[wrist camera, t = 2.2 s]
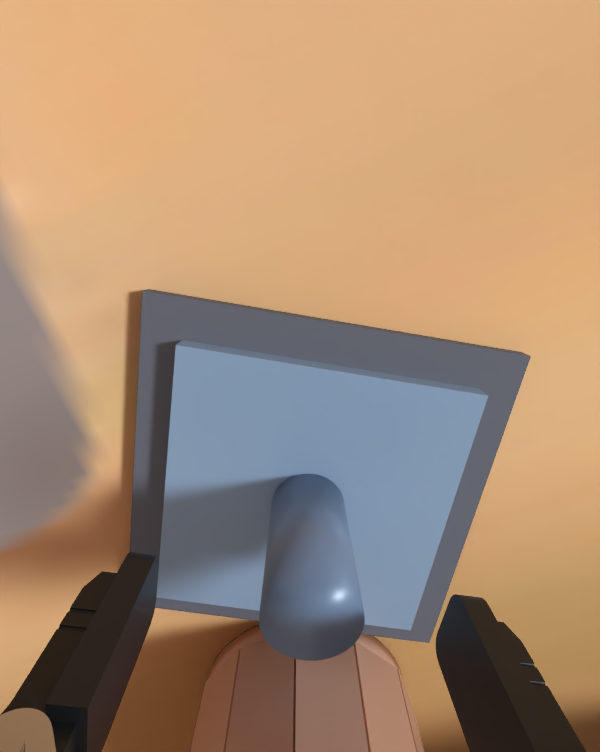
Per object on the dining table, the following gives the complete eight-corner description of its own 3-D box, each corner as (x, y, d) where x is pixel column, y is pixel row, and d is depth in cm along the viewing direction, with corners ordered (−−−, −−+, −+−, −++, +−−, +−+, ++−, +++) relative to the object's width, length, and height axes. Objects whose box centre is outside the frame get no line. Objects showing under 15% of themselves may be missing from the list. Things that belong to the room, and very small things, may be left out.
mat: (521, 352, 15) (530, 356, 14) (425, 631, 19) (429, 642, 18) (148, 289, 14) (142, 290, 13) (132, 593, 18) (127, 603, 18)
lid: (478, 388, 14) (588, 470, 9) (406, 614, 18) (454, 777, 12) (182, 339, 14) (105, 395, 8) (162, 582, 17) (97, 738, 12)
